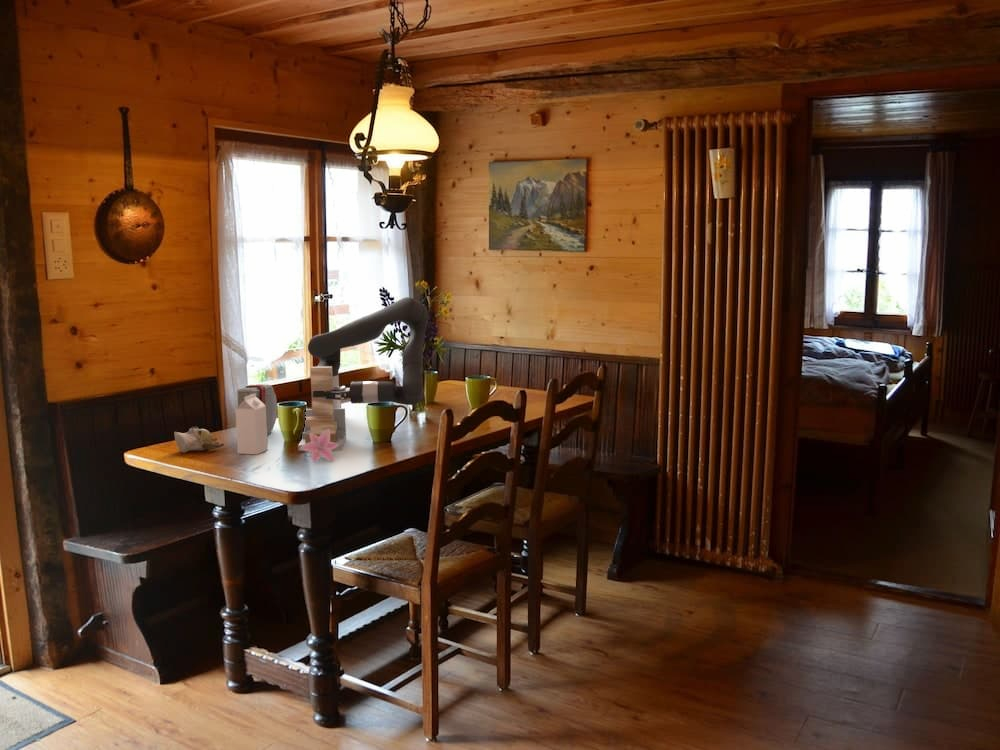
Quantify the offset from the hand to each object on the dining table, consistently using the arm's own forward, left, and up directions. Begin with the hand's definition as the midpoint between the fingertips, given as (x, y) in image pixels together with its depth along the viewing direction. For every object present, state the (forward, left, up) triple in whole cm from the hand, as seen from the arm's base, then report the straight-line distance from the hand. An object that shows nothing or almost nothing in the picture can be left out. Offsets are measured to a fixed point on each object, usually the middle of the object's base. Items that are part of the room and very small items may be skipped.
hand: (313, 393), depth 298 cm
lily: (+17, +17, -17) cm, 30 cm away
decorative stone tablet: (+4, -23, -17) cm, 29 cm away
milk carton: (+20, -9, -17) cm, 28 cm away
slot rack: (+1, +4, -17) cm, 18 cm away
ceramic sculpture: (+28, -27, -18) cm, 42 cm away
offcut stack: (+4, +6, -15) cm, 17 cm away
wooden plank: (-2, +2, -15) cm, 15 cm away
